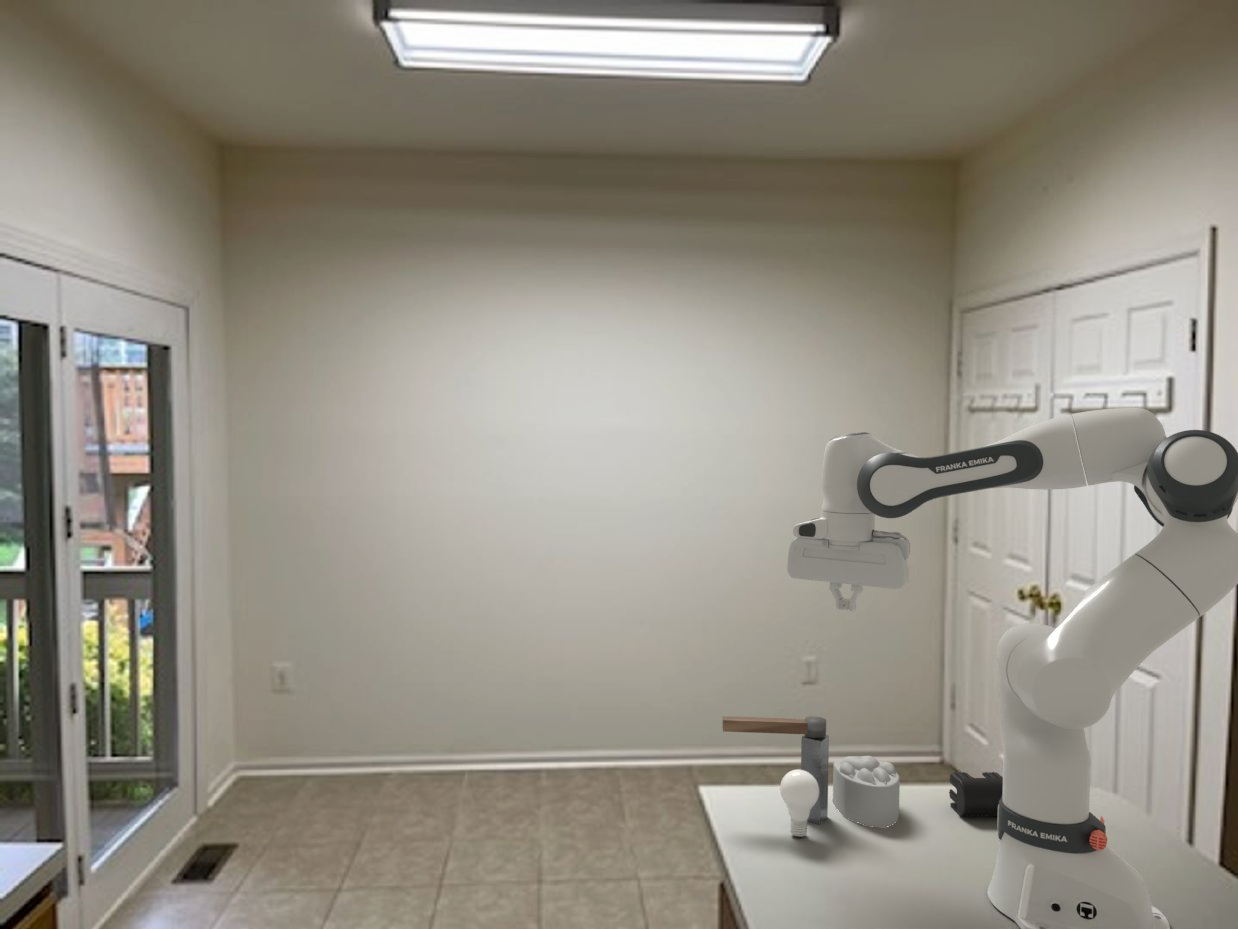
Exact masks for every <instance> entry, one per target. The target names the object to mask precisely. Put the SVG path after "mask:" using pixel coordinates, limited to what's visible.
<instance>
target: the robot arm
mask: <svg viewBox="0 0 1238 929" xmlns="http://www.w3.org/2000/svg"><path fill="white" fill-rule="evenodd" d="M1113 482H1114V483H1116V482H1119V483H1120V482H1124V483H1128V484H1131V485H1133V489H1134V493H1135V494H1136V495H1137V497H1138V498H1139V499H1140V502H1142V504H1143V505H1144V507H1145V508H1146V511H1147V512H1148V513H1149V515H1150V516H1151V517H1152V519H1153V520H1154V521H1155V522H1156V523H1157V524H1159V526H1160V527H1162V528H1161V530H1160V532H1159V533H1158V534H1157V535H1156V536H1155V537H1154V538H1153V539H1152V540H1151V541H1149V542H1148V543H1147V544H1145V545H1144V546H1143V547H1142V548H1140V549H1139V550H1138V551H1136V552H1135V553H1133V554H1132V555H1131V556H1130V557H1128V558H1127V559H1125V560H1124V561H1123V562H1121V563H1120V564H1119V565H1118V566H1116V567H1115V568H1114V569H1112V570H1111V571H1109V572H1108V573H1107V574H1105V575H1104V576H1103V577H1102V578H1100V579H1099V580H1097V581H1096V582H1095V583H1094V584H1092V585H1091V586H1089V588H1087V589H1086V591H1085V592H1084V594H1083V596H1082V598H1081V599H1080V601H1079V603H1078V604H1077V605H1076V606H1075V607H1074V609H1073V610H1072V611H1071V612H1070V613H1069V614H1068V615H1067V616H1066V617H1065V619H1064V620H1063V621H1062V622H1061V623H1060V624H1059V625H1058V626H1057V627H1056V628H1055V627H1053V626H1050V625H1048V624H1047V625H1046V624H1044V623H1037V622H1035V623H1034V622H1029V623H1028V622H1026V623H1020V624H1016V625H1013V626H1012V627H1009V629H1008V630H1007V631H1006V632H1004V633H1003V635H1002V636H1001V637H1000V639H999V641H998V644H997V648H996V649H997V650H996V662H997V680H998V682H997V684H998V698H999V711H1000V713H999V714H1000V721H1001V722H1000V723H1001V731H1002V750H1003V753H1002V754H1003V755H1002V756H1003V758H1002V761H1003V762H1002V777H1003V792H1002V796H1001V799H1000V800H999V805H998V815H997V816H996V818H997V820H996V822H997V823H996V824H997V826H996V827H997V829H996V830H997V833H998V834H997V836H998V839H999V843H998V848H997V850H998V851H997V855H996V861H995V866H994V869H993V873H992V877H991V879H990V883H989V885H988V888H987V894H986V895H987V897H988V899H989V901H990V902H991V904H992V905H993V906H994V907H995V908H996V909H997V910H998V911H1000V912H1001V913H1002V914H1004V915H1005V916H1006V917H1008V918H1010V919H1011V920H1013V921H1014V922H1015V923H1016V925H1017V926H1018V927H1019V928H1020V929H1171V925H1170V923H1169V921H1168V919H1167V917H1166V916H1165V915H1164V913H1163V912H1162V911H1161V910H1159V909H1158V908H1157V907H1155V906H1153V904H1152V900H1151V896H1150V893H1149V892H1150V891H1149V889H1148V886H1147V884H1146V881H1145V879H1144V878H1143V876H1142V875H1141V874H1140V872H1139V871H1137V870H1136V869H1135V868H1134V867H1132V866H1131V865H1130V864H1129V863H1128V862H1126V860H1124V859H1123V858H1122V857H1121V856H1119V855H1118V854H1117V853H1116V851H1114V850H1113V849H1112V848H1111V847H1109V846H1108V844H1107V843H1108V837H1107V832H1106V830H1107V829H1106V825H1105V819H1104V817H1103V816H1100V819H1099V818H1098V817H1096V815H1094V814H1093V813H1092V812H1090V796H1091V795H1090V792H1091V790H1090V789H1091V762H1092V761H1091V756H1090V755H1091V754H1090V752H1089V748H1088V744H1087V739H1086V732H1085V729H1086V728H1089V727H1091V726H1094V725H1095V724H1097V723H1098V722H1099V721H1101V720H1102V719H1103V717H1105V715H1106V714H1107V712H1108V710H1109V709H1110V705H1111V702H1112V699H1113V697H1114V696H1115V694H1116V692H1118V690H1119V689H1120V688H1121V687H1122V686H1123V685H1124V684H1125V682H1126V681H1127V680H1128V679H1129V678H1130V677H1131V675H1132V674H1133V673H1134V672H1135V671H1136V670H1137V669H1138V667H1139V666H1140V665H1141V664H1142V663H1143V662H1144V661H1145V660H1146V659H1147V658H1148V657H1149V656H1150V655H1151V654H1153V652H1155V651H1156V650H1157V649H1158V648H1160V647H1161V646H1163V645H1164V644H1165V643H1167V642H1168V641H1170V639H1172V638H1173V637H1175V636H1176V635H1178V634H1179V633H1180V632H1182V631H1183V630H1184V629H1185V628H1187V627H1188V626H1190V625H1191V624H1193V623H1194V622H1195V621H1196V620H1198V619H1200V618H1201V617H1202V616H1203V615H1205V613H1207V612H1209V611H1210V610H1211V609H1213V608H1214V607H1215V606H1216V605H1217V604H1218V603H1220V601H1222V600H1223V599H1224V598H1225V597H1226V596H1227V595H1228V594H1229V593H1230V592H1231V591H1232V590H1233V589H1235V588H1236V586H1237V585H1238V532H1237V531H1236V530H1235V529H1233V527H1232V526H1231V525H1230V524H1229V521H1228V519H1229V518H1230V516H1231V515H1232V512H1233V510H1234V507H1235V505H1236V503H1237V501H1238V451H1237V449H1236V448H1235V446H1234V445H1233V444H1232V443H1231V442H1230V441H1229V440H1227V439H1226V438H1225V437H1224V436H1222V435H1219V434H1217V433H1214V432H1211V431H1210V430H1209V431H1207V430H1202V429H1188V430H1181V431H1179V432H1176V433H1173V434H1171V435H1169V436H1167V435H1166V431H1165V428H1164V427H1163V424H1162V423H1161V421H1160V419H1158V417H1157V416H1155V415H1154V414H1153V412H1151V411H1150V410H1148V409H1146V408H1142V407H1115V408H1103V409H1094V410H1086V411H1081V412H1075V413H1071V414H1066V415H1061V416H1057V417H1053V418H1050V419H1046V420H1043V421H1040V422H1038V423H1035V424H1032V425H1030V426H1027V427H1025V428H1022V429H1020V430H1018V431H1016V432H1014V433H1012V434H1010V435H1008V436H1006V437H1004V438H1002V439H1000V440H997V441H995V442H992V443H990V444H987V445H984V446H981V447H976V448H971V449H965V450H960V451H954V452H949V453H944V454H938V455H934V456H923V457H920V456H917V455H916V454H913V453H909V452H907V451H903V450H901V449H897V448H895V447H893V446H891V445H888V444H886V443H885V442H883V441H881V440H879V439H878V438H876V437H875V436H874V435H873V434H872V433H870V432H866V431H864V432H862V431H861V432H859V431H858V432H852V433H847V434H841V435H837V436H834V437H833V438H831V439H829V440H828V442H826V445H825V449H824V452H823V457H822V468H821V487H822V492H823V500H822V501H823V502H822V503H821V508H820V518H819V517H818V518H813V519H810V520H808V521H804V522H800V523H797V524H795V525H794V526H793V527H792V533H793V536H794V537H795V538H794V539H793V540H792V541H791V542H790V544H789V548H788V554H787V563H786V565H787V566H786V568H787V573H788V575H789V576H790V577H791V579H796V580H797V579H799V580H804V581H805V580H806V581H807V580H808V581H817V582H826V583H829V590H830V592H831V593H832V595H833V597H834V599H835V609H836V610H838V611H848V612H854V611H856V608H857V600H858V599H859V597H860V595H861V593H862V592H863V591H864V587H871V588H873V587H874V588H881V589H888V590H889V589H890V590H902V589H904V588H906V586H908V585H909V582H910V569H909V567H910V566H909V562H908V558H909V556H910V554H911V542H910V540H909V539H908V538H907V536H905V535H903V534H902V533H901V532H898V531H891V532H890V531H886V530H885V531H884V530H875V529H876V527H875V526H876V524H875V523H876V522H875V521H876V516H878V517H880V518H884V519H897V518H901V517H903V516H906V515H908V514H910V513H912V512H913V511H916V510H918V509H919V508H921V507H922V506H924V505H925V504H926V503H927V502H930V501H932V500H935V499H939V498H940V499H941V498H943V497H948V496H954V495H955V496H956V495H960V494H966V493H970V492H977V491H982V490H988V489H989V490H990V489H997V488H999V489H1000V488H1001V489H1003V488H1008V489H1023V490H1024V489H1025V490H1044V491H1045V490H1047V491H1048V490H1050V491H1051V490H1066V489H1077V488H1083V487H1087V486H1089V487H1090V486H1095V485H1101V484H1106V483H1113ZM843 584H844V585H850V591H851V592H853V593H852V595H851V596H850V598H846V597H844V596H843V594H842V592H841V590H840V589H841V588H842V587H843V586H842V585H843Z"/></svg>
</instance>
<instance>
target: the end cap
mask: <svg viewBox="0 0 1238 929" xmlns="http://www.w3.org/2000/svg"><path fill="white" fill-rule="evenodd" d="M982 776H983V777H973V776H971V775H970V774H969V773H968V772H965V771H963V772H958V771H956V772H951V773H950V775H949V779H948V781H949V783H950V784H951V785H952V787H954V788H955V790H956V792H955V791H954V790H953V789H949V792H948V794H949V799H951V800H952V801H953V802H950V808H951V809H952V810H953V811H954V812H955V813H956V814H957V815H958V816H960V817H997V815H998V805H999V800H1000V799H1001V796H1002V792H1003V775H1001V774H999V773H998V772H994V771H991V772H990V771H989V772H988V771H985V772H982Z"/></svg>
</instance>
